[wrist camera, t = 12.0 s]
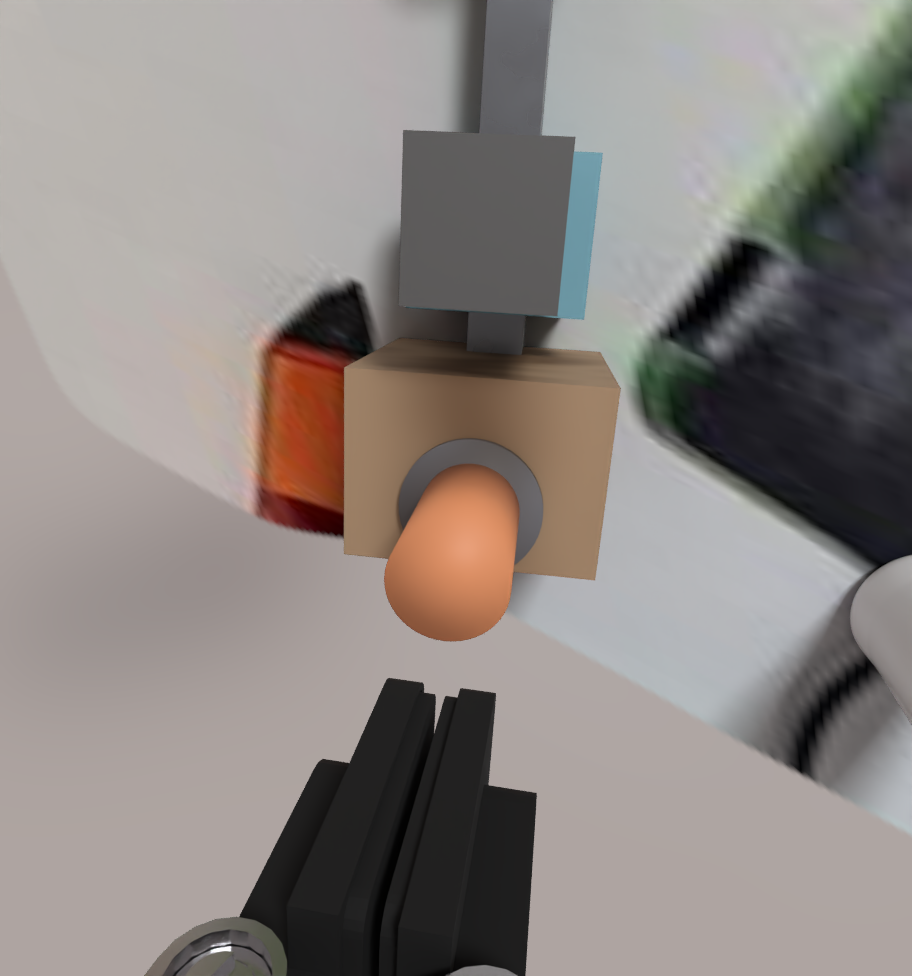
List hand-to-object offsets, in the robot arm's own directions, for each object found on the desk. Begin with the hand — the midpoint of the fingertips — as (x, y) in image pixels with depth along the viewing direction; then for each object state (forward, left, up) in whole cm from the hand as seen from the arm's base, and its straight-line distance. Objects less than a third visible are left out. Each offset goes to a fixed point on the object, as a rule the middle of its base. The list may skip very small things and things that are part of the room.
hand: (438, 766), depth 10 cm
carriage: (+1, -8, -19) cm, 21 cm away
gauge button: (+1, 0, -11) cm, 11 cm away
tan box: (+1, -1, -19) cm, 19 cm away
